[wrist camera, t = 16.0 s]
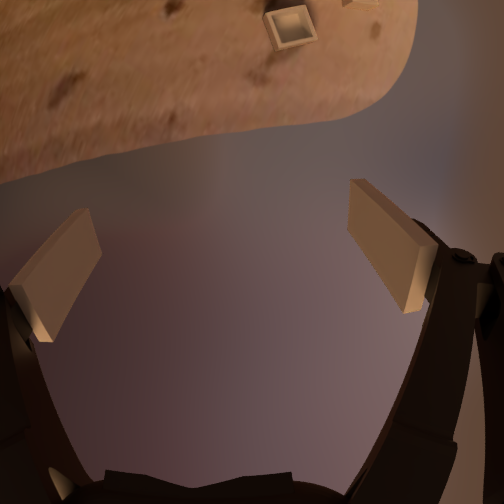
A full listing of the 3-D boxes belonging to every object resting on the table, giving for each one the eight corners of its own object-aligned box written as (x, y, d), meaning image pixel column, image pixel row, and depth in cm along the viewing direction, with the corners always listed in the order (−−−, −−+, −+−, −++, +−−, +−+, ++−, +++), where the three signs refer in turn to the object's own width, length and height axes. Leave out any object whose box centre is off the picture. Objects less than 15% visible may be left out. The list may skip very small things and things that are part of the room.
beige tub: (262, 18, 37) (265, 12, 34) (298, 10, 37) (305, 4, 33) (274, 51, 40) (279, 48, 37) (310, 43, 40) (318, 39, 36)
